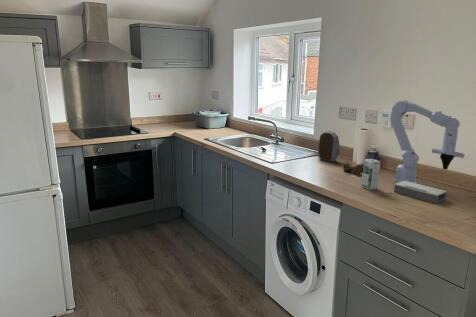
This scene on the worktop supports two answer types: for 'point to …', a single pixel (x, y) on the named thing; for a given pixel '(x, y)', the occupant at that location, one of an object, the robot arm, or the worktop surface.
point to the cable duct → (419, 194)
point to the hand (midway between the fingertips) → (445, 169)
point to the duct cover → (421, 188)
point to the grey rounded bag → (328, 146)
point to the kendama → (353, 168)
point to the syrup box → (370, 174)
